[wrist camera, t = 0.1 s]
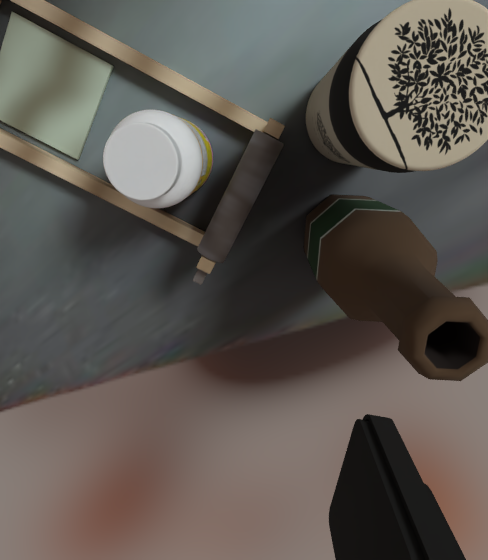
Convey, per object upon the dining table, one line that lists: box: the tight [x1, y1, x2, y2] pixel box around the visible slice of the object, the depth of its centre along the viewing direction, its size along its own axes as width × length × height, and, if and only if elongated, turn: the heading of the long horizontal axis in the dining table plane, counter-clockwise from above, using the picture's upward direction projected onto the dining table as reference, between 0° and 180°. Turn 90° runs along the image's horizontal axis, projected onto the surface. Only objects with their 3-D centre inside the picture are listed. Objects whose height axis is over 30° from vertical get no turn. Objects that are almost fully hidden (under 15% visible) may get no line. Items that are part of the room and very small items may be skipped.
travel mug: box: [306, 0, 488, 173], centre depth 28 cm, size 8×8×18 cm
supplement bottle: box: [103, 110, 213, 208], centre depth 32 cm, size 7×7×13 cm
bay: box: [0, 0, 285, 284], centre depth 34 cm, size 27×14×7 cm, turn 63°
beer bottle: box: [304, 195, 488, 381], centre depth 28 cm, size 8×8×24 cm
